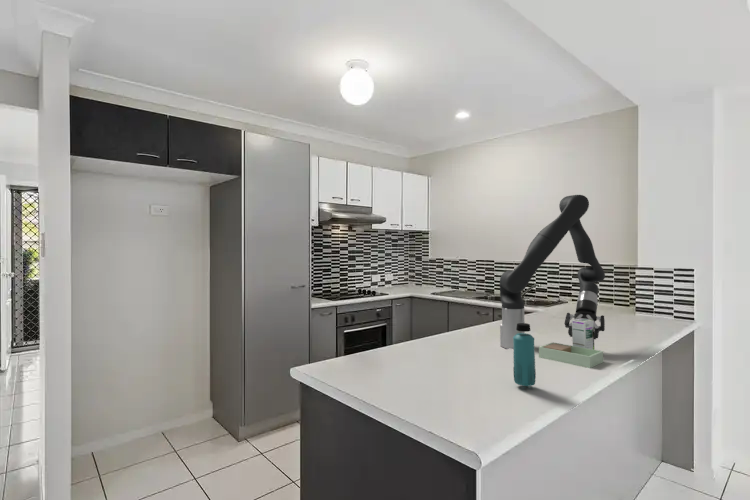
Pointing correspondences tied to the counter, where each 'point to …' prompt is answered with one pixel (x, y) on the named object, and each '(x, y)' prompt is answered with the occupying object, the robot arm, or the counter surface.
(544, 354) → the tray
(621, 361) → the counter surface
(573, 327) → the syrup box
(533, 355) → the beverage bottle
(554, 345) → the coffee brick
